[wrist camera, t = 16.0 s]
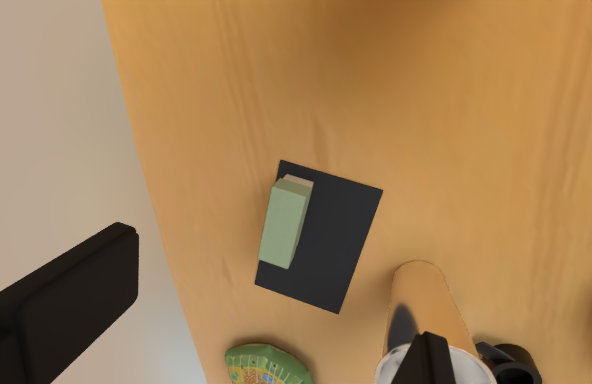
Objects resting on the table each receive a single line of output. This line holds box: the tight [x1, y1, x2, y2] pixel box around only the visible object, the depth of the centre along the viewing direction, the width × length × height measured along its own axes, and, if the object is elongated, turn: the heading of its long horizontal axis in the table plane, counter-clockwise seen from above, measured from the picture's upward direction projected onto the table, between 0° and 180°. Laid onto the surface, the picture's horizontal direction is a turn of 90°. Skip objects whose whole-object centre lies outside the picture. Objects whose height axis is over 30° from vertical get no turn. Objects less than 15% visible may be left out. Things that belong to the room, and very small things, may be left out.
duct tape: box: [475, 342, 542, 384], centre depth 42 cm, size 8×10×3 cm
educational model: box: [225, 343, 314, 384], centre depth 52 cm, size 13×16×6 cm
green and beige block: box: [258, 174, 314, 269], centre depth 41 cm, size 10×4×6 cm, turn 168°
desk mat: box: [255, 160, 383, 314], centre depth 44 cm, size 20×13×1 cm, turn 168°
